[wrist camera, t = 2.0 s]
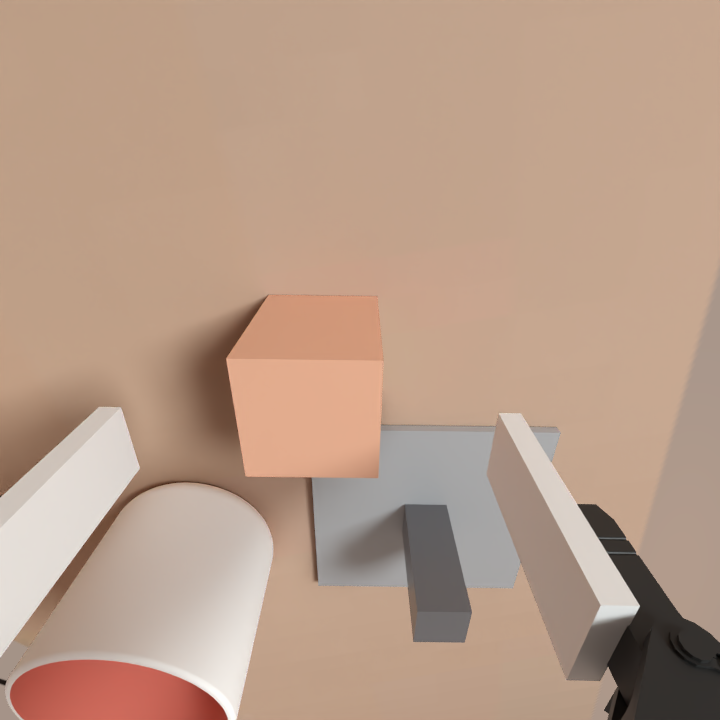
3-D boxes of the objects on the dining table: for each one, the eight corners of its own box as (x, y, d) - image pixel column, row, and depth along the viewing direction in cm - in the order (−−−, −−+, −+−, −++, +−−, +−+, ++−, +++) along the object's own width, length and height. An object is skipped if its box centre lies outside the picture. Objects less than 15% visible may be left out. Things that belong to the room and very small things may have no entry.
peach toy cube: (268, 294, 19) (226, 358, 13) (377, 296, 19) (383, 360, 13) (278, 387, 21) (245, 476, 15) (374, 388, 21) (378, 478, 15)
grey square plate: (309, 424, 22) (289, 528, 16) (556, 427, 22) (630, 532, 16) (319, 579, 29) (307, 695, 23) (510, 581, 29) (550, 698, 23)
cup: (286, 486, 25) (243, 672, 16) (268, 583, 29) (228, 769, 20) (121, 459, 24) (-22, 640, 15) (129, 563, 28) (24, 750, 20)
